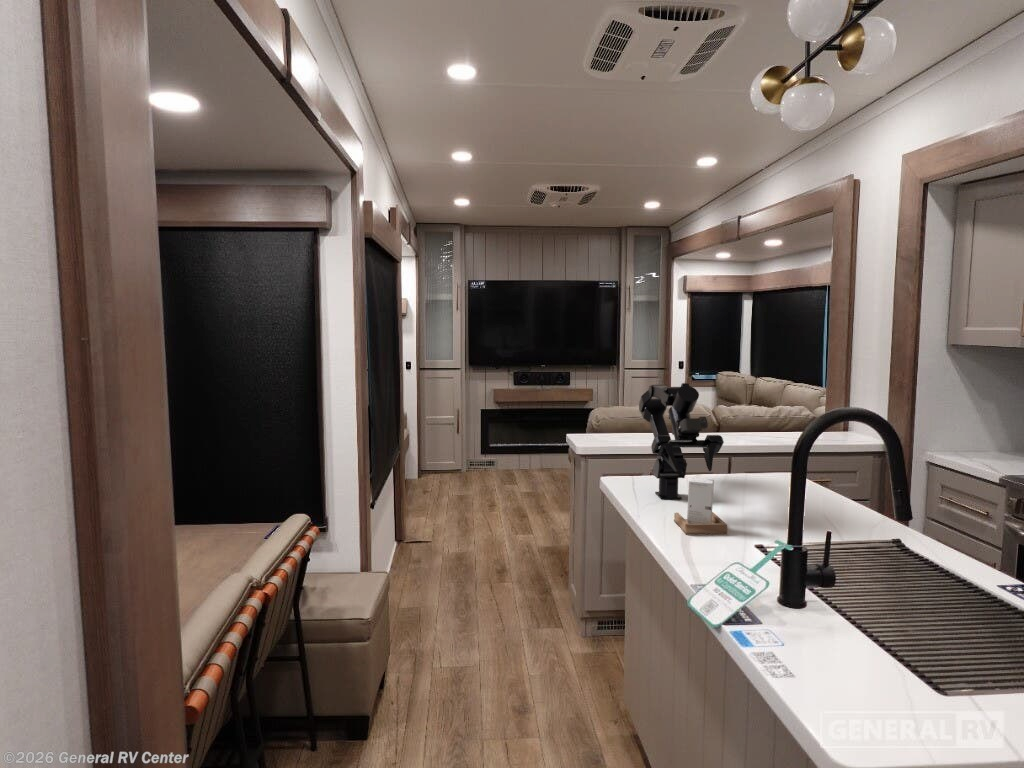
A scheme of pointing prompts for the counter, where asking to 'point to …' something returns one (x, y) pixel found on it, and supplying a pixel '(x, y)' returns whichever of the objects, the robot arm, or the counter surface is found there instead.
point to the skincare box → (700, 501)
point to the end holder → (701, 526)
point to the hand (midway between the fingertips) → (693, 470)
